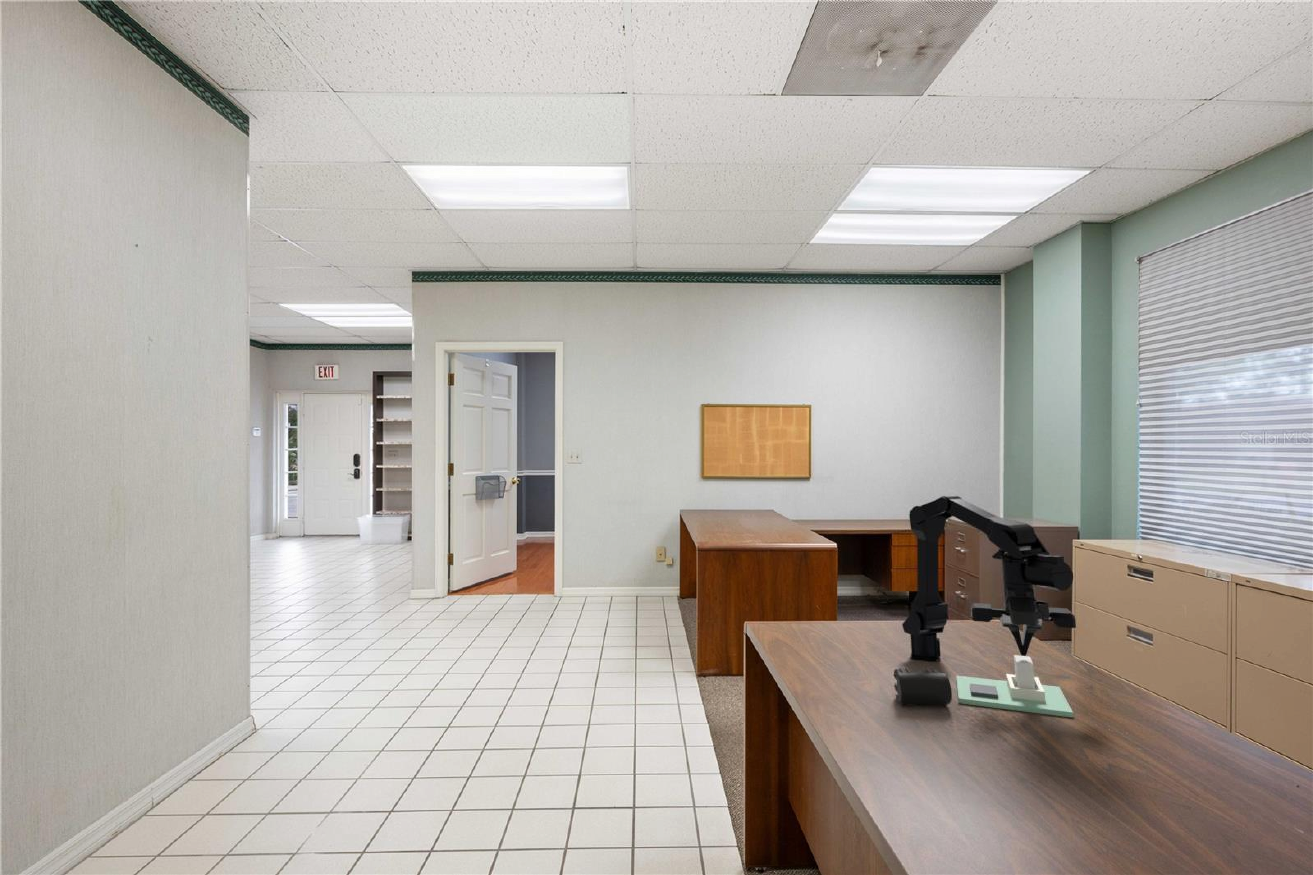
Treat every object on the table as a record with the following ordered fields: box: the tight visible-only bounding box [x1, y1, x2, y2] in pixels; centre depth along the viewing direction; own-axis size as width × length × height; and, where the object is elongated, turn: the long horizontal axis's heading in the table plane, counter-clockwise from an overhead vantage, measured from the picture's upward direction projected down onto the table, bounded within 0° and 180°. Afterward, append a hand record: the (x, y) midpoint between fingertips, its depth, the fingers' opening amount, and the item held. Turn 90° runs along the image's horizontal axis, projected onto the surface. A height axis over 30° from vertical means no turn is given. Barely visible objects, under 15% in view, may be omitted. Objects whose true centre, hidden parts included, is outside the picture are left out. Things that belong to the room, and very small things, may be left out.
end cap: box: [893, 668, 953, 707], centre depth 123 cm, size 10×7×7 cm
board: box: [956, 673, 1074, 718], centre depth 124 cm, size 20×14×3 cm
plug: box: [1013, 654, 1035, 689], centre depth 124 cm, size 3×6×7 cm, turn 154°
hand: (1023, 655), depth 124 cm, fingers closed
